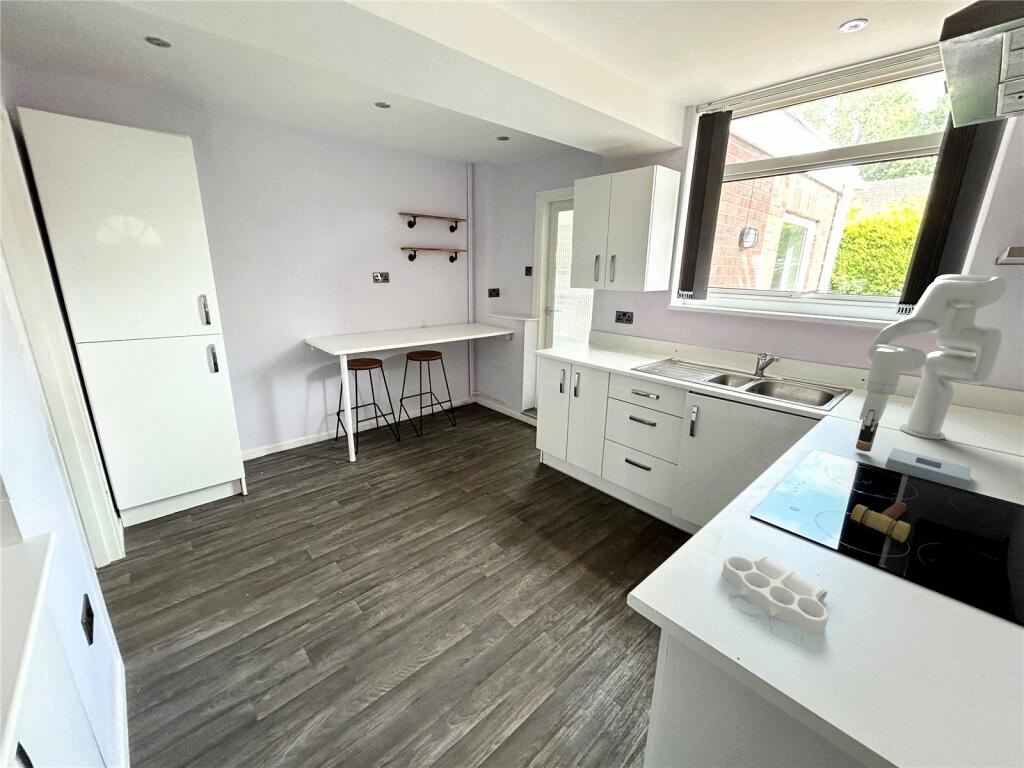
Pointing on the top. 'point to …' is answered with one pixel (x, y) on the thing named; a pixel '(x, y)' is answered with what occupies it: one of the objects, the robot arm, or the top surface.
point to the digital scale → (929, 468)
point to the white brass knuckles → (778, 591)
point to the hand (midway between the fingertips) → (866, 438)
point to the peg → (866, 445)
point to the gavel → (884, 520)
